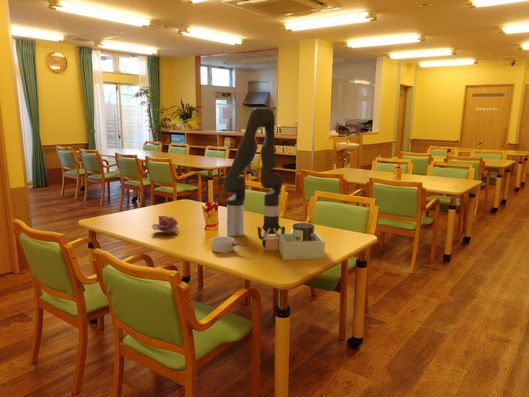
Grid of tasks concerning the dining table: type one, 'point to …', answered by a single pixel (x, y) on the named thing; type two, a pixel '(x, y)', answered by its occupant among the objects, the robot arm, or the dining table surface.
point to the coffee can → (303, 232)
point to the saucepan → (224, 244)
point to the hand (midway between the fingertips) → (271, 246)
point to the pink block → (271, 242)
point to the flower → (166, 225)
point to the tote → (300, 247)
